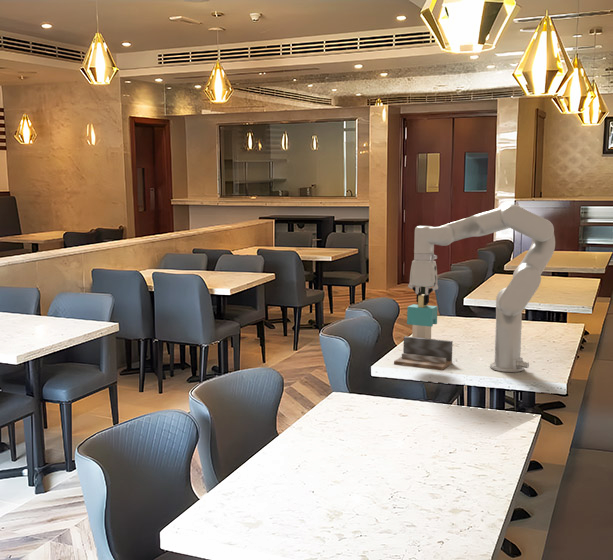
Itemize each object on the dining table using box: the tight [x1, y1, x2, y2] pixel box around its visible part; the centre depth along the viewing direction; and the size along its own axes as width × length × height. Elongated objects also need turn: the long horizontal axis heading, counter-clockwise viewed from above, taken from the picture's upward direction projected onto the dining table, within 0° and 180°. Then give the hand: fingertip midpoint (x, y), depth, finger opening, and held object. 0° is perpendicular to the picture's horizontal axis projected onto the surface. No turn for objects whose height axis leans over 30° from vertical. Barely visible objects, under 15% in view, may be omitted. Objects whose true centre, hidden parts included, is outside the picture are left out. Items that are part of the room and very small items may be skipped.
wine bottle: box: [411, 287, 432, 339], centre depth 299 cm, size 8×8×30 cm
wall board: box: [393, 336, 454, 371], centre depth 281 cm, size 20×12×9 cm, turn 62°
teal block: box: [406, 294, 439, 328], centre depth 277 cm, size 10×7×12 cm
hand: (422, 303), depth 277 cm, fingers closed on teal block
